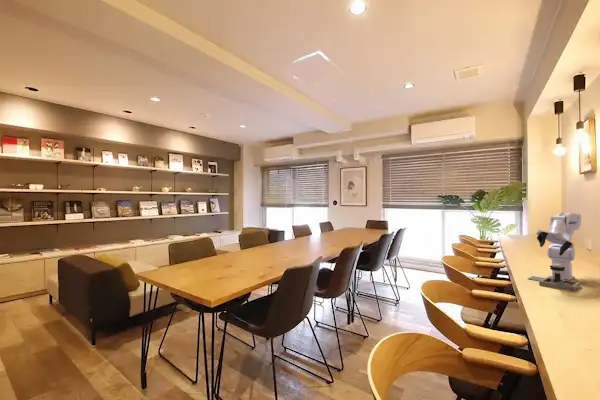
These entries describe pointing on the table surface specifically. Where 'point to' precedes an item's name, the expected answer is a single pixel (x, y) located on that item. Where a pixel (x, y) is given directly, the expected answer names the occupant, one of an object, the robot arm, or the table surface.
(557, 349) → the table surface
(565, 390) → the table surface
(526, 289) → the table surface
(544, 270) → the table surface
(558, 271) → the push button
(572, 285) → the frame
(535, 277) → the mat
